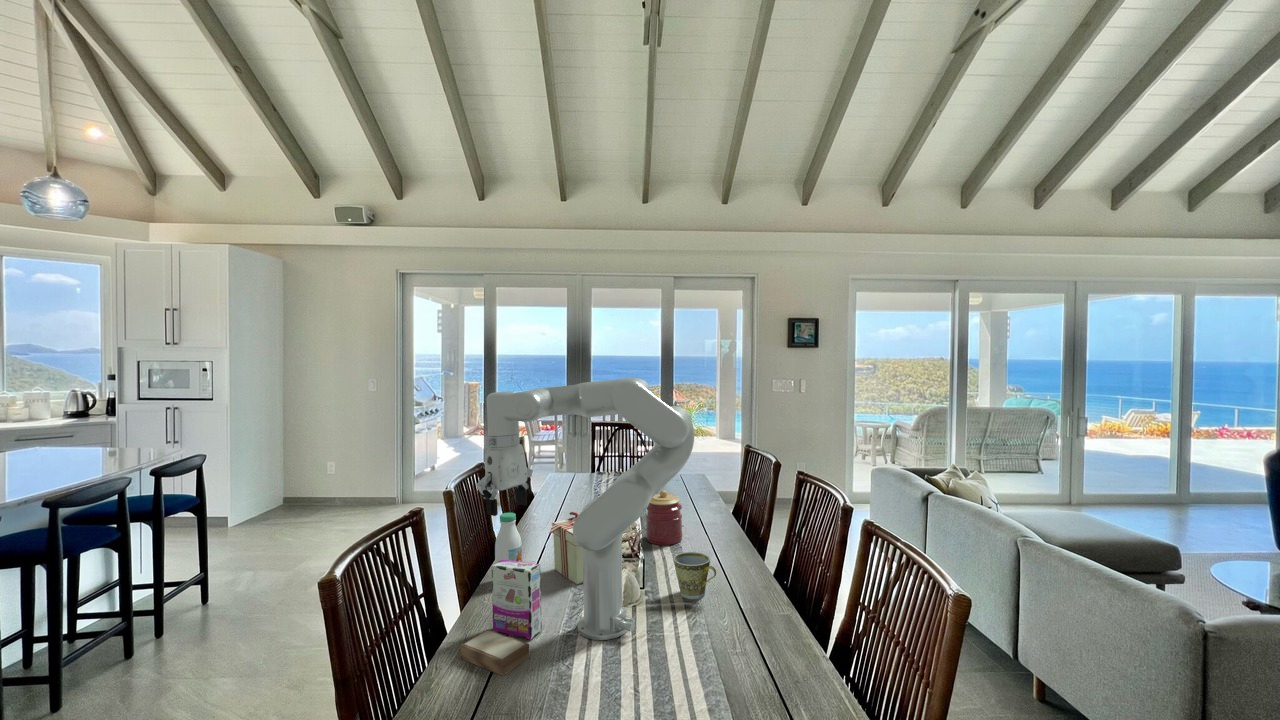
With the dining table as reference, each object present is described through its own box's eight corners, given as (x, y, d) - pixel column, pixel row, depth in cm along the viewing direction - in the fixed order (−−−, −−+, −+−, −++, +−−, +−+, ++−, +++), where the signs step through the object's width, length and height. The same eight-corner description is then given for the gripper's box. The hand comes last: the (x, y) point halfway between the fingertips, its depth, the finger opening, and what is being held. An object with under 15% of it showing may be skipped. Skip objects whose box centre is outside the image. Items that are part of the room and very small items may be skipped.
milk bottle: (499, 589, 158) (497, 519, 157) (493, 579, 164) (491, 513, 164) (525, 583, 161) (524, 515, 161) (518, 574, 168) (517, 509, 168)
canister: (659, 531, 206) (658, 484, 206) (689, 537, 198) (688, 488, 198) (638, 541, 195) (638, 491, 195) (669, 548, 188) (668, 496, 188)
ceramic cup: (666, 595, 152) (666, 559, 152) (689, 583, 159) (688, 549, 159) (705, 609, 143) (704, 571, 143) (726, 596, 151) (726, 560, 150)
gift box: (542, 573, 169) (541, 517, 168) (591, 557, 181) (590, 505, 181) (573, 590, 156) (572, 530, 156) (624, 572, 168) (623, 516, 168)
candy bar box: (542, 630, 134) (541, 563, 134) (531, 640, 129) (529, 571, 129) (504, 622, 138) (503, 557, 138) (491, 632, 133) (490, 565, 133)
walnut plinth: (529, 657, 122) (529, 643, 122) (502, 675, 115) (502, 660, 115) (488, 641, 129) (487, 628, 129) (460, 658, 122) (460, 644, 122)
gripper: (486, 448, 128) (490, 521, 128) (539, 436, 143) (542, 502, 143) (465, 446, 133) (469, 517, 133) (519, 435, 147) (522, 499, 147)
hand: (507, 509), depth 138 cm, fingers open, 9 cm apart
